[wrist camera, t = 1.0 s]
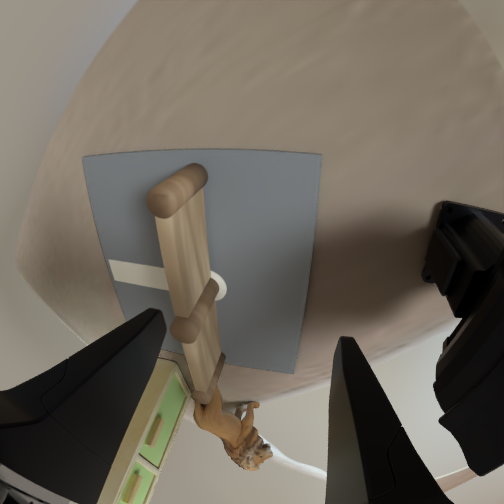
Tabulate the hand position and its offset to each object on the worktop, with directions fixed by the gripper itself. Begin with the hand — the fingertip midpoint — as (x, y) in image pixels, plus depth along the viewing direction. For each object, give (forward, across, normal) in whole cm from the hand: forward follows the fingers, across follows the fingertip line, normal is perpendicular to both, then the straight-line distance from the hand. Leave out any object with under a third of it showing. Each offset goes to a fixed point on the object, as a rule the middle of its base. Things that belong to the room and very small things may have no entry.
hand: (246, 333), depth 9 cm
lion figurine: (+12, +4, +26) cm, 29 cm away
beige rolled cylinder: (+11, +6, +2) cm, 13 cm away
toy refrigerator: (+12, +14, +25) cm, 31 cm away
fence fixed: (+12, +6, +13) cm, 18 cm away
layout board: (+12, +7, +8) cm, 16 cm away
